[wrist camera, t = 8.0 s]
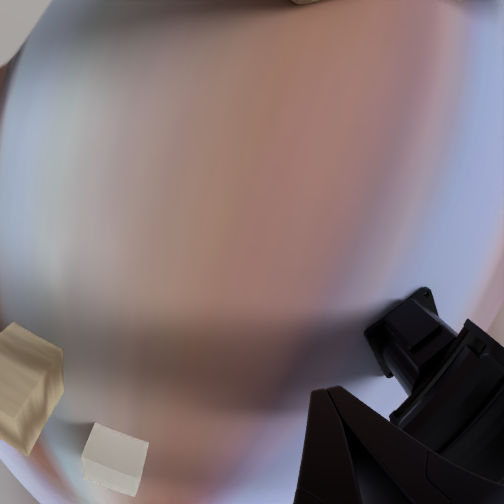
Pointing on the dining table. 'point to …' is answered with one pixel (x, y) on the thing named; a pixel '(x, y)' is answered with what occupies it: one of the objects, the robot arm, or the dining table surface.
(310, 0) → the block
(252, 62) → the dining table surface
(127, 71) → the dining table surface
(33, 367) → the maple block
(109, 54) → the dining table surface
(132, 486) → the white block
